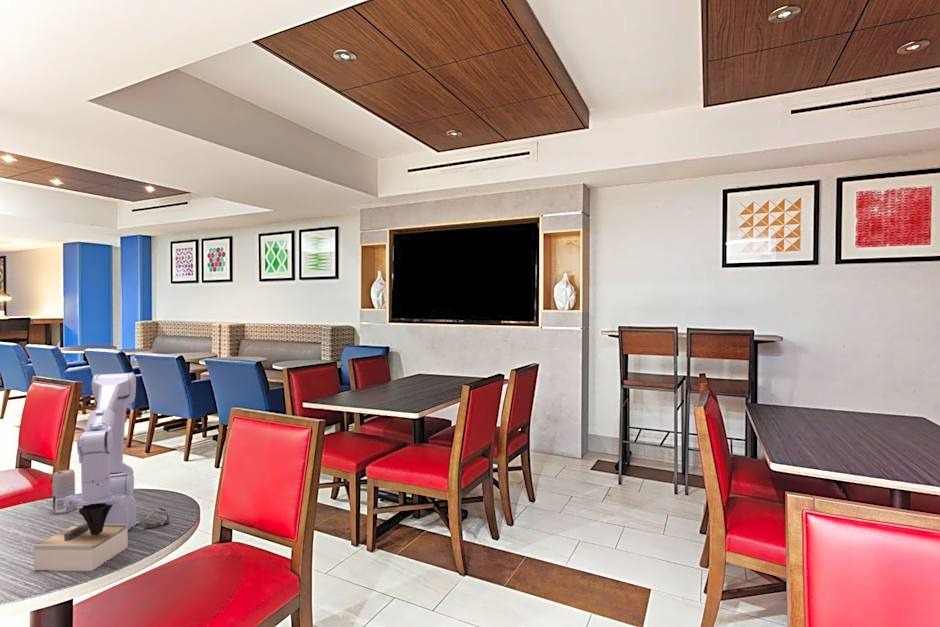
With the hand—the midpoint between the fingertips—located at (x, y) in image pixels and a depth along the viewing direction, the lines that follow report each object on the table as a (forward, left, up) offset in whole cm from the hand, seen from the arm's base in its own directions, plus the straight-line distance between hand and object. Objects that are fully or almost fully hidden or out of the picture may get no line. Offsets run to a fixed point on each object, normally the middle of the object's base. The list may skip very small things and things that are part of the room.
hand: (96, 533), depth 125 cm
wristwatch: (-19, +2, -7) cm, 20 cm away
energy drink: (-29, -34, -6) cm, 45 cm away
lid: (0, -4, -1) cm, 4 cm away
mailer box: (0, -4, -6) cm, 7 cm away
